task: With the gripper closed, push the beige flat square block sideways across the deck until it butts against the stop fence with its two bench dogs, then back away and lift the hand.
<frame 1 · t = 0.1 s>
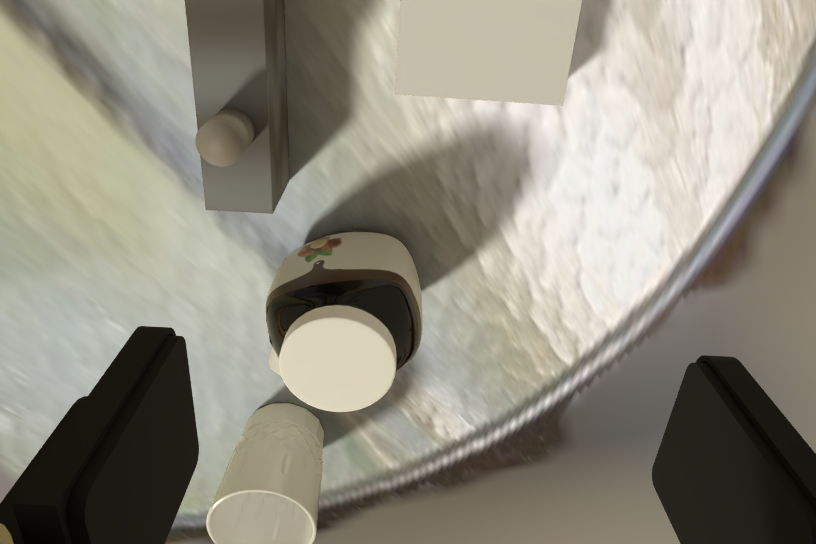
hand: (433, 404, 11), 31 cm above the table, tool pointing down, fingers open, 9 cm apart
beige flat square block: (482, 2, 37), on the table
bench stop: (251, 5, 37), on the table
spread jar: (345, 294, 46), on the table
white cup: (285, 430, 53), on the table
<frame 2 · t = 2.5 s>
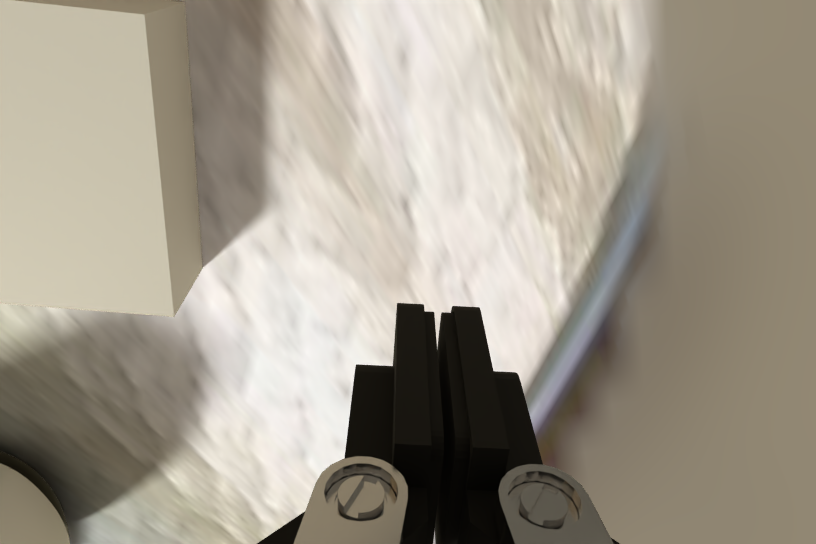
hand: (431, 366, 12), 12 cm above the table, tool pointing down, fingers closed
beige flat square block: (59, 133, 22), on the table
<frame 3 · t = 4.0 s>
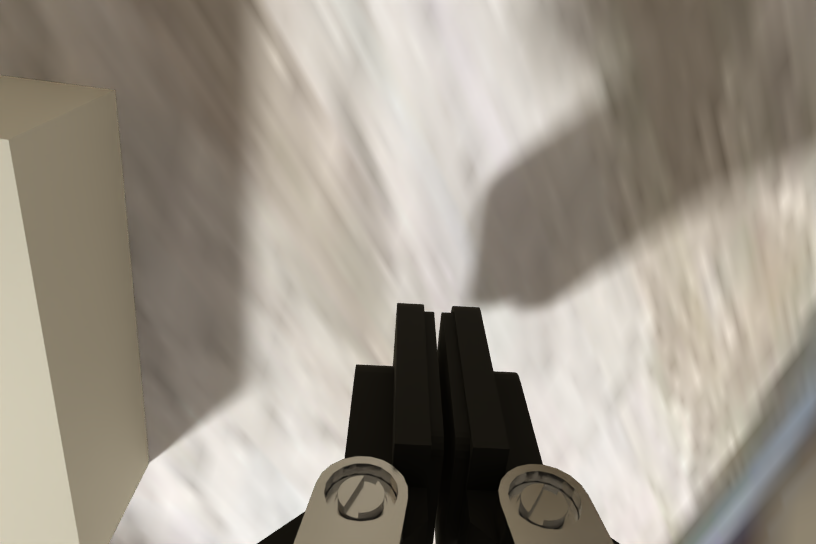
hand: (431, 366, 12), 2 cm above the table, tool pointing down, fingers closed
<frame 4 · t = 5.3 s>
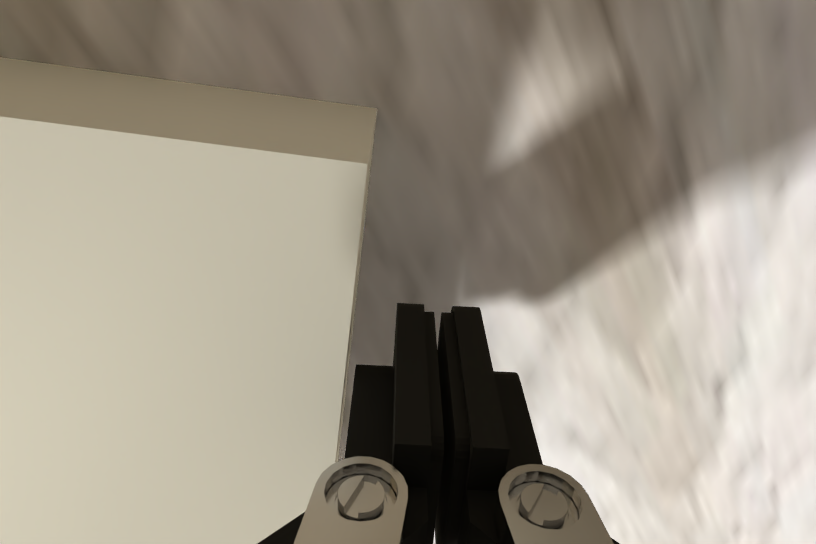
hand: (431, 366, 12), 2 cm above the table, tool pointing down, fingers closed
beige flat square block: (147, 285, 15), on the table
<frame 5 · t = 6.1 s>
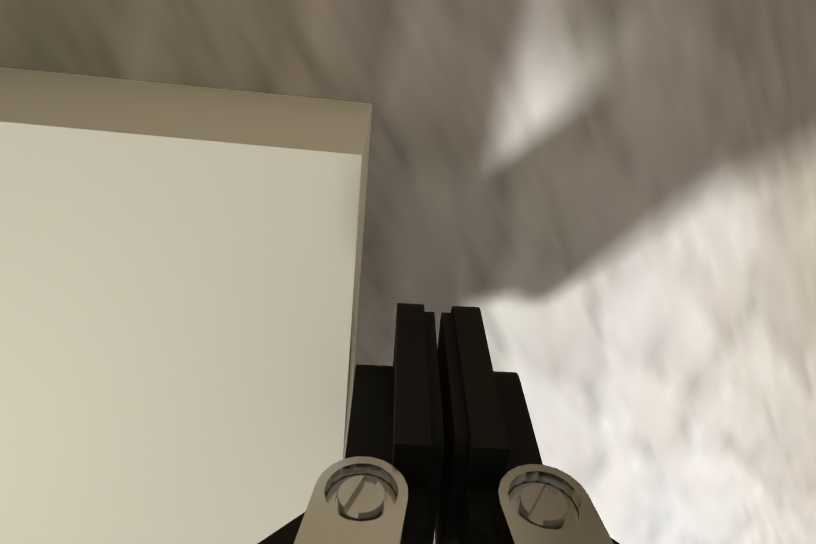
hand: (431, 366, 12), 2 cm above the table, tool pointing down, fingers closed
beige flat square block: (153, 286, 15), on the table, touching gripper
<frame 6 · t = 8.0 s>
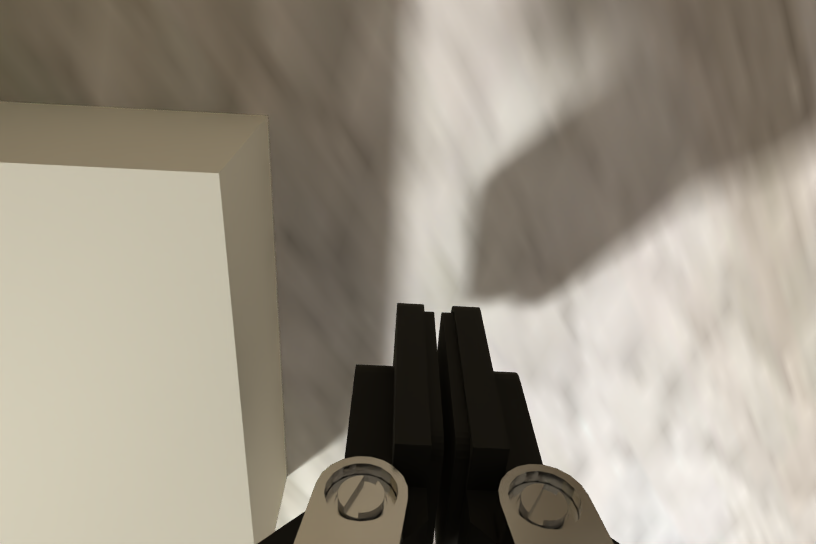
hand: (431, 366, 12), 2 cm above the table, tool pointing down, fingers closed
beige flat square block: (74, 307, 15), on the table
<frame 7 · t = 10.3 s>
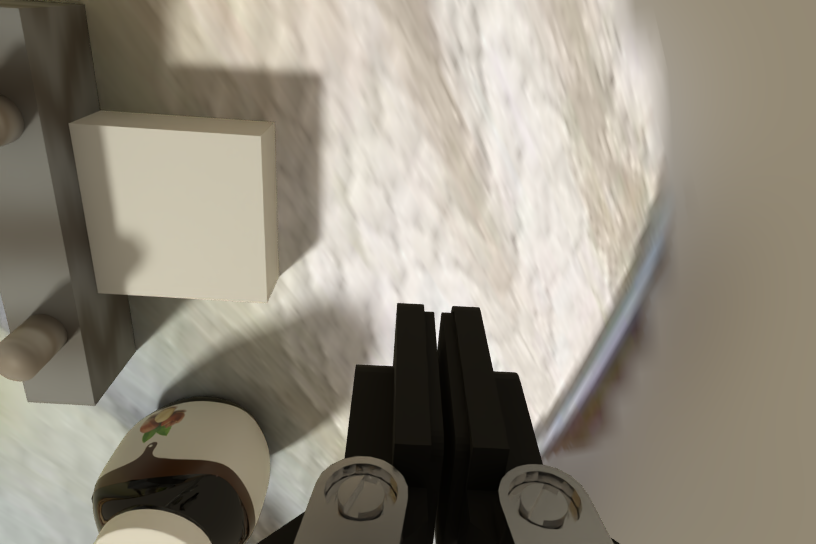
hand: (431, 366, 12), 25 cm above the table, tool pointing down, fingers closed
beige flat square block: (197, 196, 37), on the table
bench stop: (80, 197, 37), on the table
spread jar: (205, 452, 46), on the table
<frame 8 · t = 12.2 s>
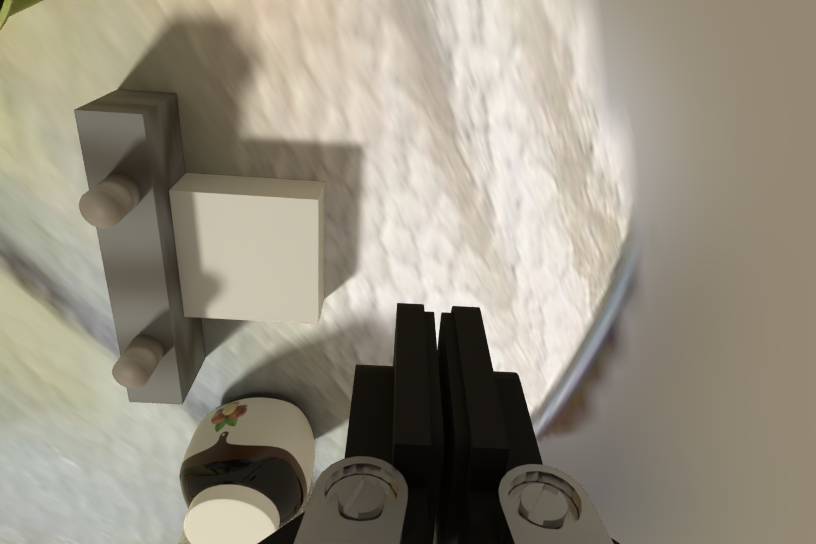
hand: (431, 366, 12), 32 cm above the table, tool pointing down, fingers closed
beige flat square block: (259, 237, 47), on the table
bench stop: (166, 238, 46), on the table
spread jar: (258, 437, 56), on the table
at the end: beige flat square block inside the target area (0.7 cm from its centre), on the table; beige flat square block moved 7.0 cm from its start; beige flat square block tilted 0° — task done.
